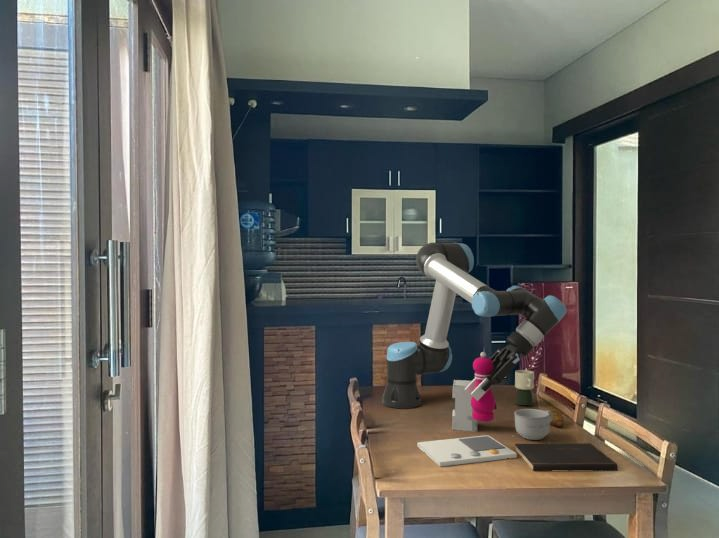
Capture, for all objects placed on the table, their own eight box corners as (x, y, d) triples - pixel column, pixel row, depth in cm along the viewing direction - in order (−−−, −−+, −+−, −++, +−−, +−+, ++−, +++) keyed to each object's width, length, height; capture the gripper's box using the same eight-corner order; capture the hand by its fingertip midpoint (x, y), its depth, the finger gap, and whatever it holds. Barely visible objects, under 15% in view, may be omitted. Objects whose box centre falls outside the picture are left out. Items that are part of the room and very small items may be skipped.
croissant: (570, 429, 178) (571, 414, 178) (550, 429, 178) (551, 414, 178) (554, 416, 192) (555, 403, 192) (536, 416, 192) (536, 403, 191)
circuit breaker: (496, 433, 174) (496, 387, 173) (452, 429, 177) (452, 385, 176) (495, 425, 181) (495, 382, 181) (452, 422, 184) (453, 379, 184)
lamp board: (417, 446, 161) (417, 441, 161) (488, 438, 168) (488, 433, 168) (439, 466, 146) (439, 460, 146) (516, 457, 153) (516, 452, 153)
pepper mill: (486, 413, 164) (486, 349, 164) (500, 420, 157) (500, 353, 157) (466, 416, 161) (466, 350, 161) (479, 423, 155) (479, 354, 154)
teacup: (526, 444, 163) (527, 418, 163) (507, 433, 174) (507, 408, 174) (565, 440, 167) (565, 414, 167) (544, 429, 178) (544, 405, 177)
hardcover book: (514, 451, 159) (514, 443, 159) (590, 450, 160) (590, 443, 160) (533, 473, 143) (533, 464, 143) (617, 472, 144) (617, 464, 144)
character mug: (539, 408, 201) (539, 374, 201) (521, 409, 200) (521, 375, 200) (527, 401, 212) (527, 368, 212) (509, 401, 211) (510, 369, 211)
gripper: (546, 352, 152) (490, 412, 150) (520, 342, 169) (470, 395, 168) (528, 334, 151) (472, 393, 149) (504, 326, 169) (453, 379, 167)
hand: (471, 394), depth 159 cm, fingers closed on pepper mill, 5 cm apart
